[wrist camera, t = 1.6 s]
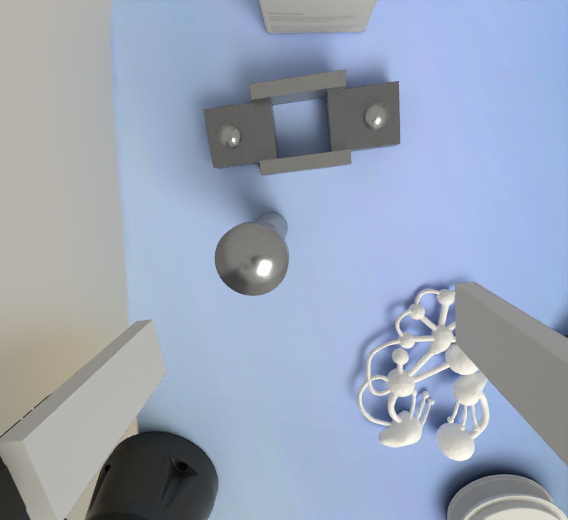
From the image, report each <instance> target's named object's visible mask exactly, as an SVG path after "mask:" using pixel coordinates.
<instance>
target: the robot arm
mask: <svg viewBox="0 0 568 520" xmlns="http://www.w3.org/2000/svg"><path fill="white" fill-rule="evenodd" d="M455 330H456V345H457V346H458V347H459V348H460V349H461V350H462V351H463V352H464V353H465V355H466V356H467V357H468V358H469V359H470V360H471V361H472V362H473V363H474V364H475V365H476V367H477V368H478V369H479V370H480V371H481V372H482V373H483V374H484V375H485V376H486V377H487V379H488V380H489V381H490V382H491V383H492V384H493V385H494V386H495V387H496V388H497V390H498V391H499V392H500V393H501V394H502V395H503V396H504V397H505V398H506V399H507V400H508V402H509V403H510V404H511V405H512V406H513V407H514V408H515V409H516V410H517V411H518V412H519V414H520V415H521V416H522V417H523V418H524V419H525V420H526V421H527V422H528V423H529V425H530V426H531V427H532V428H533V429H534V430H535V431H536V432H537V433H538V434H539V435H540V437H541V438H542V439H543V440H544V441H545V442H546V443H547V444H548V445H549V446H550V447H551V449H552V450H553V451H554V452H555V453H556V454H557V455H558V456H559V457H560V458H561V460H562V461H563V462H564V463H565V464H566V465H567V466H568V335H564V336H563V335H561V334H560V333H558V332H556V331H555V330H553V329H551V328H550V327H548V326H547V325H545V324H543V323H542V322H540V321H538V320H537V319H535V318H533V317H532V316H530V315H528V314H527V313H525V312H524V311H522V310H520V309H519V308H517V307H515V306H514V305H512V304H510V303H509V302H507V301H505V300H504V299H502V298H501V297H499V296H497V295H496V294H494V293H492V292H491V291H489V290H487V289H486V288H484V287H482V286H481V285H479V284H478V283H476V282H467V283H458V284H455ZM166 373H167V370H166V367H165V363H164V360H163V356H162V352H161V349H160V345H159V342H158V338H157V335H156V331H155V328H154V324H153V321H152V320H144V321H136V322H135V323H134V324H133V325H132V326H130V327H129V328H128V329H127V330H126V331H125V332H123V333H122V334H121V335H120V336H119V337H118V338H116V339H115V340H114V341H113V342H112V343H111V344H109V345H108V346H107V347H106V348H105V349H104V350H102V351H101V352H100V353H99V354H98V355H97V356H95V357H94V358H93V359H92V360H91V361H90V362H88V363H87V364H86V365H85V366H84V367H83V368H81V369H80V370H79V371H78V372H77V373H76V374H74V375H73V376H72V377H71V378H70V379H69V380H67V381H66V382H65V383H64V384H63V385H62V386H60V387H59V388H58V389H57V390H56V391H55V392H53V393H52V394H50V395H49V396H47V397H46V398H45V399H44V400H43V401H42V402H40V403H39V404H38V405H37V406H36V407H34V410H31V411H30V412H28V413H27V414H26V415H25V416H24V417H23V419H22V420H19V421H18V422H17V423H16V424H14V425H13V426H12V427H11V428H10V429H9V430H7V431H6V432H5V433H4V434H3V435H2V436H0V520H67V519H66V518H65V517H66V516H67V514H68V513H69V512H70V510H71V508H72V507H73V506H74V504H75V503H76V502H77V500H78V499H79V497H80V496H81V494H82V493H83V492H84V490H85V489H86V487H87V486H88V484H89V483H90V482H91V480H92V479H93V477H94V476H95V474H96V473H97V472H98V470H99V469H100V467H101V466H102V465H103V463H104V462H105V460H106V459H107V457H108V456H109V455H110V453H111V452H112V450H113V449H114V447H115V446H116V445H117V443H118V442H119V440H120V439H121V437H122V436H123V434H124V433H125V432H126V430H127V429H128V427H129V426H130V424H131V423H132V422H133V420H134V419H135V418H136V416H137V415H138V413H139V412H140V410H141V409H142V408H143V406H144V405H145V403H146V402H147V400H148V399H149V398H150V396H151V395H152V393H153V392H154V390H155V389H156V388H157V386H158V385H159V383H160V382H161V381H162V379H163V378H164V376H165V375H166ZM217 491H218V477H217V473H216V470H215V468H214V466H213V464H212V462H211V461H210V459H209V458H208V457H207V456H206V455H205V453H204V452H202V451H201V450H200V449H199V448H198V447H197V446H195V445H194V444H192V443H191V442H189V441H187V440H185V439H183V438H180V437H178V436H175V435H171V434H167V433H160V432H147V433H140V434H137V435H133V436H131V437H129V438H127V439H125V440H124V441H122V442H121V443H120V444H119V445H118V446H117V447H116V448H115V449H114V450H113V452H112V453H111V455H110V456H109V458H108V459H107V461H106V462H105V464H104V465H103V467H102V469H101V471H100V474H99V477H98V480H97V483H96V486H95V489H94V493H93V496H92V499H91V502H90V505H89V508H88V511H87V514H86V517H85V520H207V519H208V518H209V516H210V514H211V511H212V509H213V506H214V502H215V499H216V495H217Z"/></svg>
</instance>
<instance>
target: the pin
mask: <svg viewBox="0 0 568 520" xmlns="http://www.w3.org/2000/svg"><path fill="white" fill-rule="evenodd" d="M287 229H288V226H287V222H286V220H285V219H284V218H283V217H282V216H281V215H280V214H278V213H274V212H270V213H266V214H264V215H263V216H262V217H260V218H259V219H258V220H257V221H256V222H254V221H253V222H245V223H241V224H239V225H237V226H235V227H234V228H232V229H231V230H229V231H228V232H227V233H226V234H225V235H224V236H223V237H222V238H221V240H220V241H219V243H218V245H217V248H216V251H215V265H216V269H217V272H218V274H219V276H220V278H221V279H222V280H223V282H224V283H225V284H226V285H227V286H228V287H229V288H231V289H232V290H234V291H236V292H238V293H241V294H244V295H251V296H255V295H262V294H265V293H268V292H270V291H272V290H273V289H275V288H276V287H277V286H278V285H279V284H280V283H281V282H282V280H283V279H284V277H285V274H286V272H287V268H288V262H289V251H288V247H287V244H286V242H285V237H286V234H287Z"/></svg>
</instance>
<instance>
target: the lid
mask: <svg viewBox="0 0 568 520" xmlns="http://www.w3.org/2000/svg"><path fill="white" fill-rule="evenodd" d="M447 519H448V520H568V519H567V517H566V516H565V514H564V513H563V512H562V511H561V509H560V508H559V507H558V506H556V505H555V504H554V503H553V501H552V498H551V497H550V495H549V494H548V492H547V491H546V490H545V489H544V488H543V487H542V486H541V485H539V484H538V483H536V482H535V481H533V480H530V479H528V478H525V477H522V476H517V475H508V474H501V475H492V476H487V477H483V478H480V479H478V480H475V481H473V482H471V483H469V484H468V485H466V486H465V487H463V488H462V489H461V490H460V491H458V492H457V494H456V495H455V496H454V497H453V499H452V500H451V502H450V504H449V507H448V511H447Z"/></svg>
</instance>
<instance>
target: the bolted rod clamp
mask: <svg viewBox="0 0 568 520" xmlns="http://www.w3.org/2000/svg"><path fill="white" fill-rule="evenodd" d="M249 85H250V93H251V100H252V101H253V103H246V104H239V105H233V106H226V107H219V108H212V109H205V110H204V114H205V120H206V126H207V132H208V138H209V144H210V150H211V156H212V161H213V167H214V168H226V167H234V166H242V165H249V164H257V163H260V169H261V175H271V174H279V173H287V172H295V171H303V170H311V169H319V168H327V167H335V166H343V165H349V164H351V151H358V150H366V149H374V148H381V147H389V146H395V145H398V144H400V114H399V81H396V82H389V83H382V84H375V85H369V86H362V87H355V88H348V89H345V88H346V86H347V85H346V69H345V70H338V71H332V72H325V73H318V74H312V75H305V76H299V77H292V78H286V79H279V80H273V81H266V82H260V83H253V84H249ZM325 97H326V107H327V120H328V133H329V146H330V152H325V153H318V154H310V155H302V156H294V157H287V158H278V149H277V141H276V132H275V124H274V115H273V107H272V105H277V104H284V103H291V102H298V101H305V100H312V99H318V98H325Z"/></svg>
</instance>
